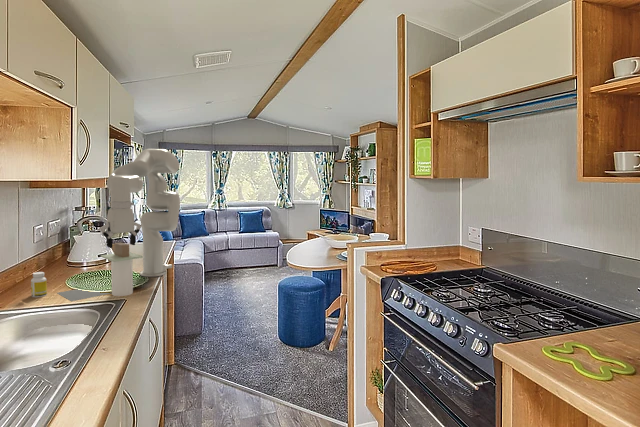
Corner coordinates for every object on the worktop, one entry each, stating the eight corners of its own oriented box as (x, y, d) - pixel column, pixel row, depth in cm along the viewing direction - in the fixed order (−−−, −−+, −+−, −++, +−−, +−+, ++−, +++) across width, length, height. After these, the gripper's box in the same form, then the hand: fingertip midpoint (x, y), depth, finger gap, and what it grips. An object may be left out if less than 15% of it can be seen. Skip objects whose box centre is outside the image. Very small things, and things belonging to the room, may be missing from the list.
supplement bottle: (50, 295, 184) (49, 272, 183) (38, 298, 179) (37, 275, 178) (39, 293, 185) (39, 270, 184) (28, 297, 180) (27, 273, 179)
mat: (95, 286, 198) (95, 285, 198) (111, 294, 188) (111, 293, 188) (56, 293, 186) (56, 292, 186) (71, 302, 176) (71, 301, 176)
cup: (125, 297, 184) (124, 259, 182) (107, 295, 185) (106, 258, 184) (136, 292, 192) (136, 256, 190) (120, 290, 193) (119, 254, 192)
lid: (128, 253, 195) (128, 240, 194) (142, 257, 187) (142, 244, 187) (100, 257, 186) (100, 243, 185) (114, 261, 178) (113, 247, 177)
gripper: (136, 204, 193) (136, 242, 195) (95, 206, 180) (96, 247, 182) (144, 205, 188) (145, 245, 190) (103, 207, 175) (104, 250, 177)
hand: (121, 246), depth 186 cm, fingers open, 9 cm apart
